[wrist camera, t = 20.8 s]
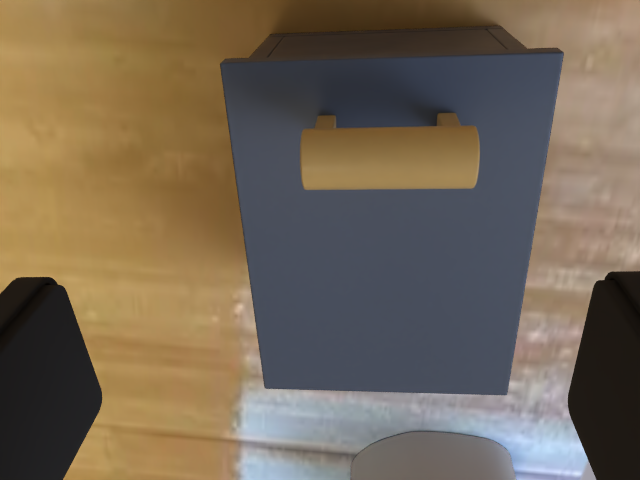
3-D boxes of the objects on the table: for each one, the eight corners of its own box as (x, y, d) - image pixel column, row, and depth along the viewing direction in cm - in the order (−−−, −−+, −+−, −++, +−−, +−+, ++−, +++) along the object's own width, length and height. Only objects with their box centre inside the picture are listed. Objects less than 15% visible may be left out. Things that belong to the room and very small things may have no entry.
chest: (270, 33, 30) (228, 77, 22) (500, 25, 29) (552, 68, 21) (291, 275, 38) (267, 377, 30) (474, 276, 37) (504, 383, 28)
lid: (224, 58, 21) (182, 98, 17) (558, 47, 20) (613, 87, 15) (267, 378, 30) (246, 464, 25) (504, 384, 28) (529, 476, 24)
